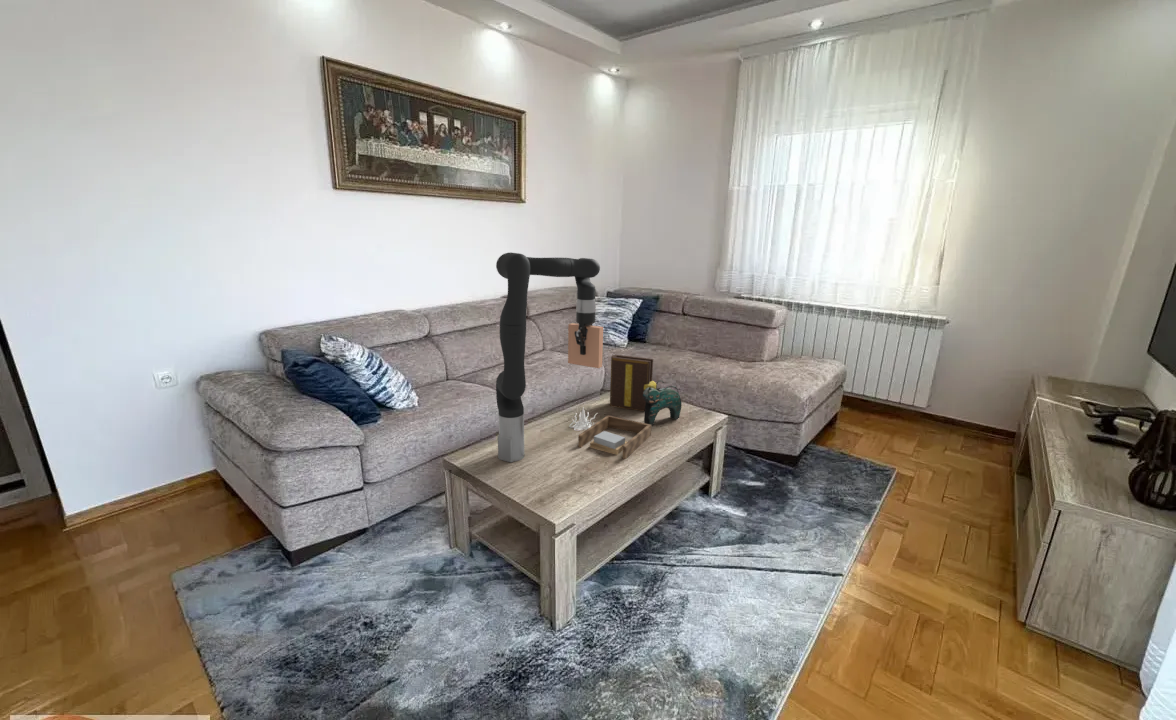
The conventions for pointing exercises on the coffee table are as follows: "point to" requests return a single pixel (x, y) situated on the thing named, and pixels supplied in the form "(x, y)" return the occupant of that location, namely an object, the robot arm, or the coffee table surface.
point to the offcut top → (609, 440)
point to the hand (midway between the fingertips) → (585, 353)
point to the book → (630, 381)
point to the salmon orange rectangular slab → (592, 346)
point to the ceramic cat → (661, 403)
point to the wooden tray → (621, 424)
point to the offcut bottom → (606, 448)
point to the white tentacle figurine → (582, 421)
